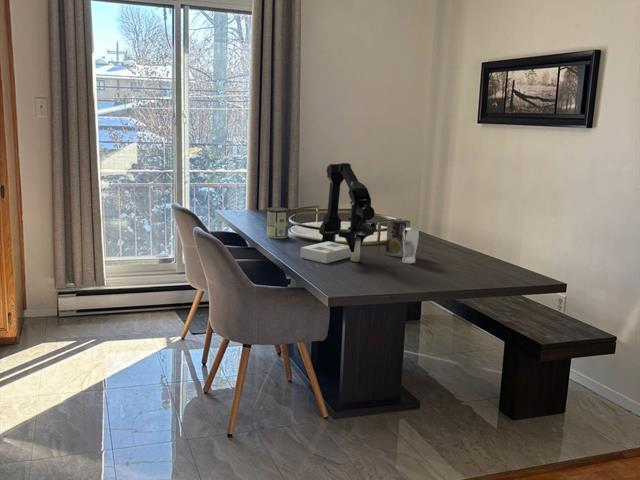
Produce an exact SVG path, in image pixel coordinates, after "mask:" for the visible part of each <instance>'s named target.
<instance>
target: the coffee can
mask: <svg viewBox="0 0 640 480" xmlns="http://www.w3.org/2000/svg"><path fill="white" fill-rule="evenodd" d="M288 211H289V209H288V208H286V207H279V206H277V207H276V206H275V207H274V206H273V207H267V208H266V213H267V216H266V218H267V219H266V237H267V238H270V239H286V238H287V237H288Z"/></svg>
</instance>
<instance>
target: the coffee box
mask: <svg viewBox="0 0 640 480" xmlns="http://www.w3.org/2000/svg"><path fill="white" fill-rule="evenodd" d="M405 227H411V220H408V219H407V220H406V219H405V220H404V219H397V218H396V219H395V218H390V219H389V220H388V221H387V226H386V230H387V231H386V245H385V246H386V247H385V256H392V257H398V258H403V243H402V237H403V230H404V228H405Z"/></svg>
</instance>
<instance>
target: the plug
mask: <svg viewBox="0 0 640 480" xmlns="http://www.w3.org/2000/svg"><path fill="white" fill-rule="evenodd" d="M357 238H358V239H357V240H356V241H355V248H354V252H351V256H350V257H349V258H350V262H354V263H355V262H356V263H357V262H359V261H360V260H361V259H360V258H361V257H360V256H361V248H360V244H361V238H359V237H357Z"/></svg>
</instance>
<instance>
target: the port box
mask: <svg viewBox="0 0 640 480" xmlns="http://www.w3.org/2000/svg"><path fill="white" fill-rule="evenodd" d="M350 256H351V250H350V248H349V245H348V244H343V243H338V242H335V243H334V242H329V241H328V242H323V243H322V242H320V243H314V244H310V245H306V246H305V245H304V246H301V247H300V255H299V257H300V258H301V259H305V260H310V261H313V262H318V263H323V264H329V263H332V262H336V261H339V260H344V259H348V258H350Z"/></svg>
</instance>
